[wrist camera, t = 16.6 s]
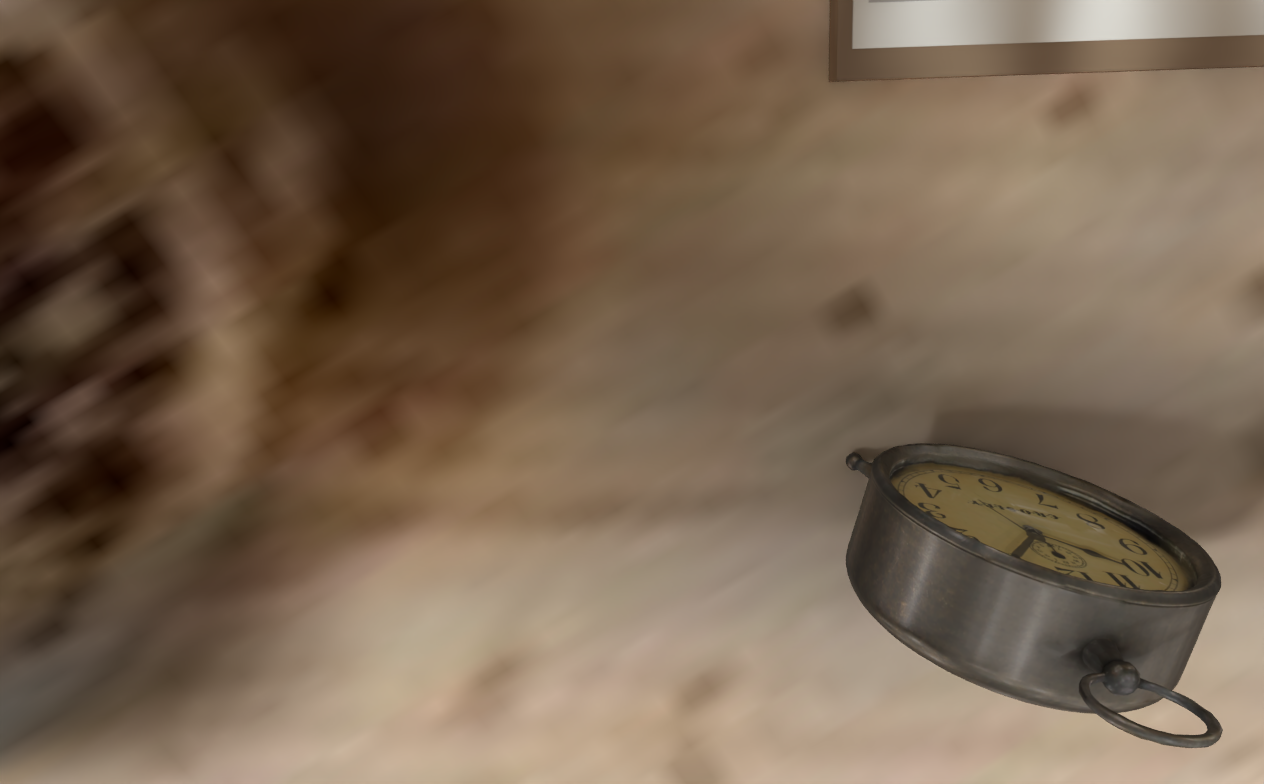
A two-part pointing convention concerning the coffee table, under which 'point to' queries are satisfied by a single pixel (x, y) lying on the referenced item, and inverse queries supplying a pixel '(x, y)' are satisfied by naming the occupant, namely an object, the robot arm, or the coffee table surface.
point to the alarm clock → (1031, 582)
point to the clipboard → (1039, 37)
